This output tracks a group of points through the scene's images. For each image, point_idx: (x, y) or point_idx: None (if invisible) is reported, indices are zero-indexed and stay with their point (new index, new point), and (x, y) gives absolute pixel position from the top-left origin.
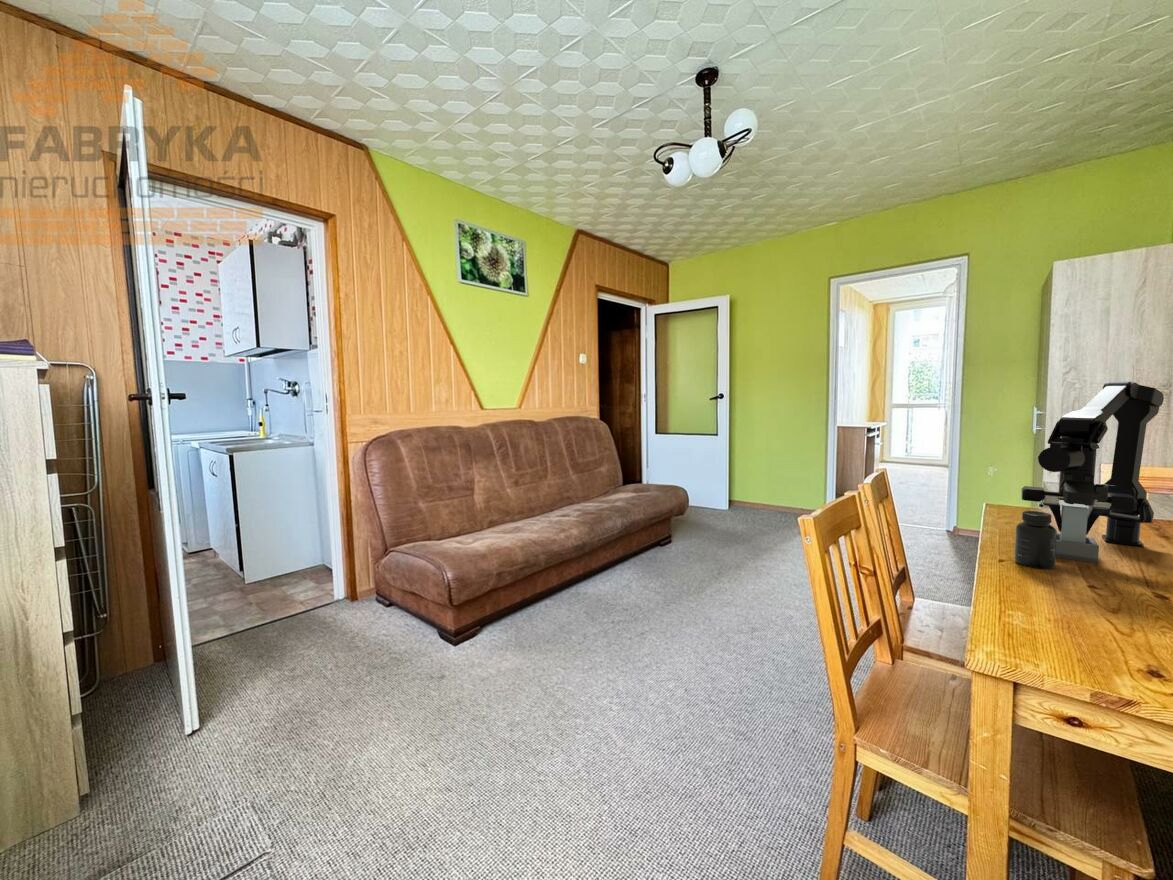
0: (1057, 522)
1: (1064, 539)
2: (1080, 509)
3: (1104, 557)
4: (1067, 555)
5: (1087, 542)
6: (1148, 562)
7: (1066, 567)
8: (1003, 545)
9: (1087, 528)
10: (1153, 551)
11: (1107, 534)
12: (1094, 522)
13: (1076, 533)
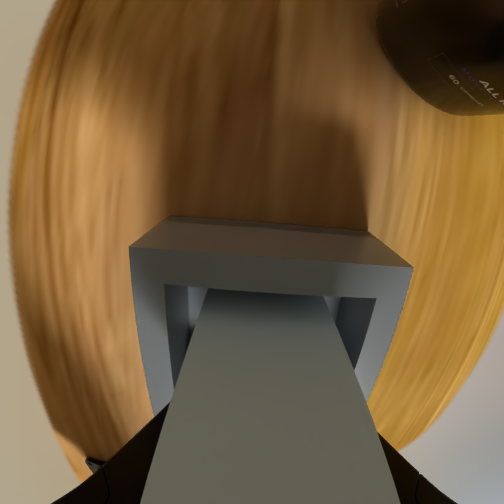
0: (387, 451)
1: (320, 326)
2: None
3: None
4: (297, 228)
5: None
6: (43, 335)
7: (325, 45)
8: (473, 316)
9: None
10: (66, 434)
11: None
12: (99, 468)
13: (252, 365)
